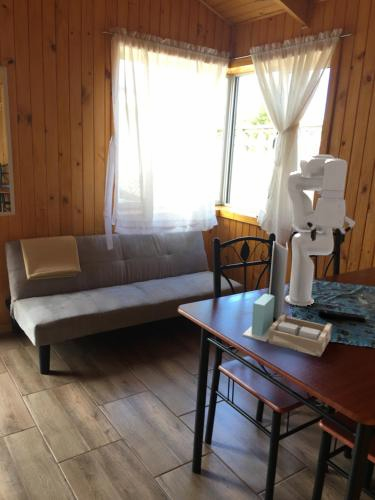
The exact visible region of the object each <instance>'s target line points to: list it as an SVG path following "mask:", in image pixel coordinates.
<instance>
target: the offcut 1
mask: <svg viewBox="0 0 375 500" xmlns="http://www.w3.org/2000/svg"><path fill="white" fill-rule="evenodd" d="M278 331H280V332H284V333H288V334H292V335H296V336H297V333H298V325H294V324H290V323H286V322H281V323H280V324H279V325H278Z"/></svg>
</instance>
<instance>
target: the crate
mask: <svg viewBox="0 0 375 500" xmlns="http://www.w3.org/2000/svg"><path fill="white" fill-rule="evenodd" d="M281 322H286V323H290V324H294V325H298V333H297V336H296V335H292V334H288V333H284V332H280V331H278V325H279V324H280V323H281ZM302 326H303V327H307V328H312V329H316V330H320V334H319V338H318V340H313V339H308V338H304V337H300V336H299V330H300V329H301V328H302ZM332 326H333V323H329V322H327V324H321V323H318V322H312V321H308V320H305V319H299V318H297V317H296V318H294V317H291V316H288V313H285V312H283V313H282V315H281V316H280V317H279V318H278V319H275V321H274V322H273V324H272V326H271V327H270V329H269V339H268V341H267V342H268V344H270V345H274V346H278V347H282V348H286V349H288V348H289V350H292V349H293V351H296V350H297V352H299V353H305V354H308V355H312V356H316V357H319V358H320V357H321V356H322V354H323V352H324V351H325V349H326V347H327V345H328V344H329V342H330V340H331V334H332Z"/></svg>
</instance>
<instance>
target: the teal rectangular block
mask: <svg viewBox="0 0 375 500" xmlns="http://www.w3.org/2000/svg"><path fill="white" fill-rule="evenodd" d="M274 299H275V296H274V295H269V294H268V293H264V294H262V295H261V296H260V297H258V299H256V300H255V301H254V302H253V307H252V319H251V320H252V321H251V326H252V332H251V334H254V335H258V336H263V335H264V333H265V332H266V331H267V330H268V329H269V328H270V327H271V326H272V323H274V322H273V321H274V316H273V311H274Z"/></svg>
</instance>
